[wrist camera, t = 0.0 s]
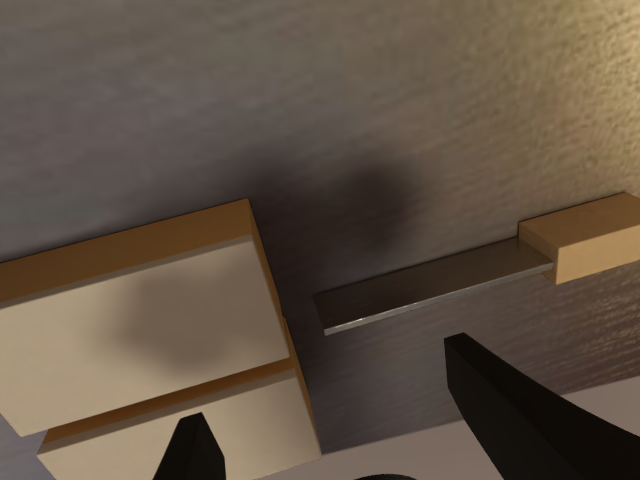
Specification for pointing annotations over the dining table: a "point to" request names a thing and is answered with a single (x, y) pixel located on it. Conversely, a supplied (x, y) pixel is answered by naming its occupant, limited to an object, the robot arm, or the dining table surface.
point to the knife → (497, 263)
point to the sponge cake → (153, 350)
